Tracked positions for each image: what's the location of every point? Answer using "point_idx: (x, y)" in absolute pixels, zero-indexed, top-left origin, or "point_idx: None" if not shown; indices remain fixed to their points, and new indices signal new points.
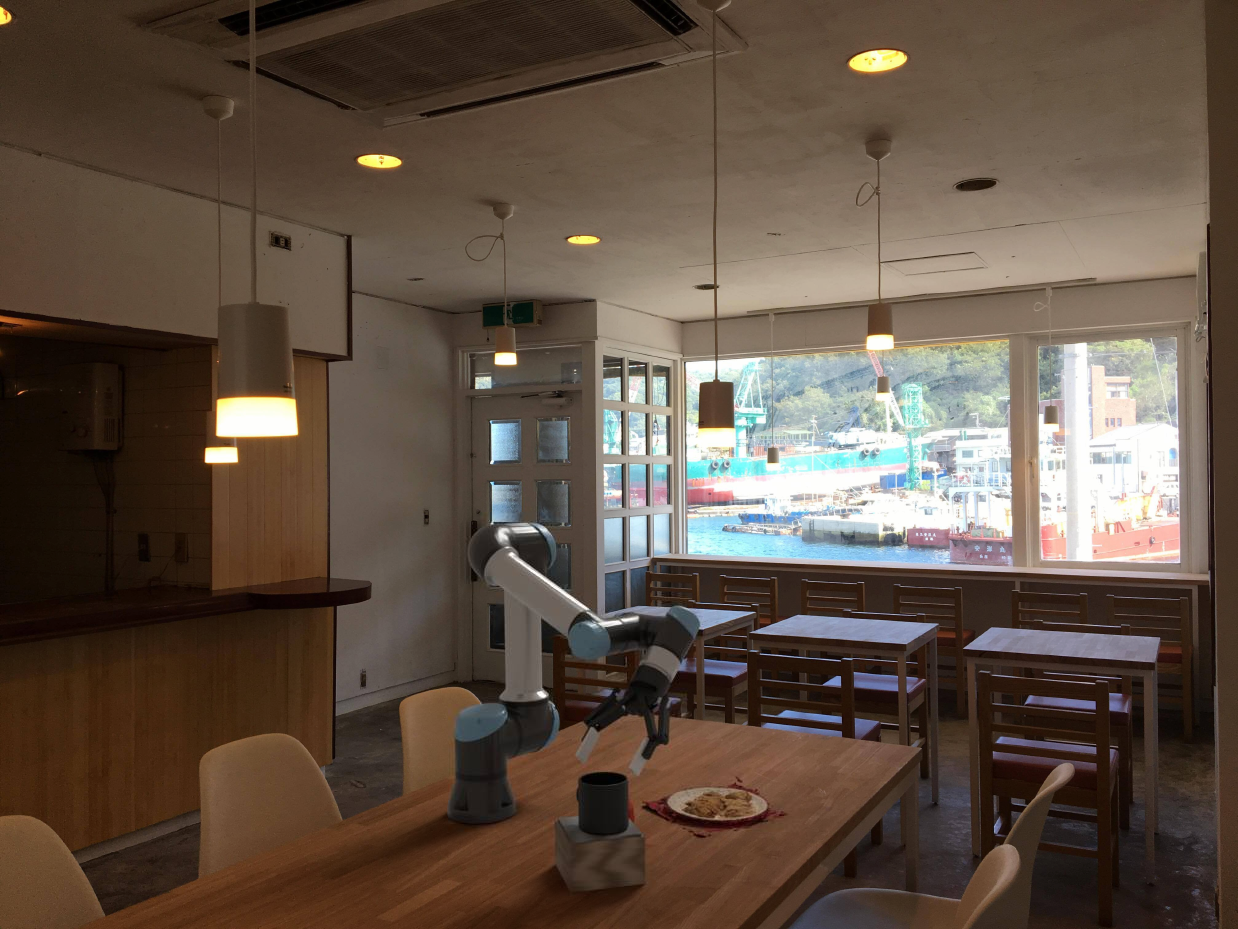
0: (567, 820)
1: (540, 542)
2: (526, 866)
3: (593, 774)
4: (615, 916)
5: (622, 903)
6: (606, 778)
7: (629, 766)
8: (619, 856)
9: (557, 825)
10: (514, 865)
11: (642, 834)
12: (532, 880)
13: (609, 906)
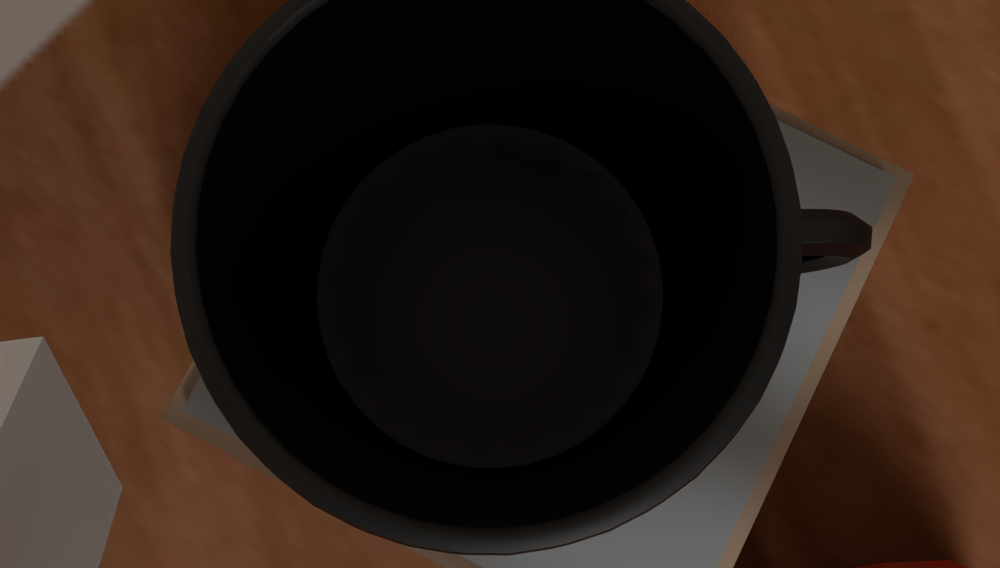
0: (803, 195)
1: None
2: (892, 106)
3: (766, 307)
4: (79, 38)
5: (162, 160)
6: (668, 448)
7: (26, 355)
8: None
9: (826, 136)
10: (947, 68)
11: (208, 441)
12: (708, 16)
13: (183, 91)
